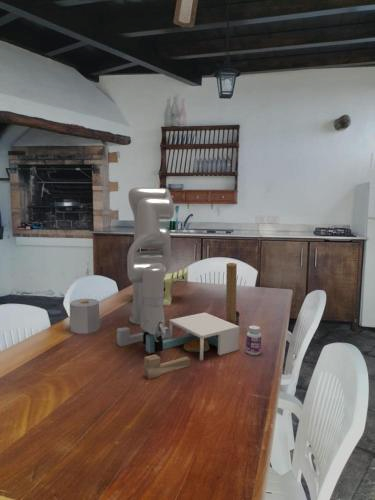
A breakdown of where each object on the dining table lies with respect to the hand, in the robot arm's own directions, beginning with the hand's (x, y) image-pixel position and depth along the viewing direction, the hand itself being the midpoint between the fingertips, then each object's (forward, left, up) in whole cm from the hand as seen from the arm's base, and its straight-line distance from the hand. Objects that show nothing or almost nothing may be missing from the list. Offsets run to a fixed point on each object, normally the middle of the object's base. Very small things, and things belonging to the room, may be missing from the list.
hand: (152, 347), depth 139 cm
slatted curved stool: (-57, +38, -2) cm, 68 cm away
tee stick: (-12, +2, -1) cm, 12 cm away
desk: (+6, +18, -1) cm, 19 cm away
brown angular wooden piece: (+16, -4, -1) cm, 17 cm away
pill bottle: (+21, +30, -2) cm, 37 cm away
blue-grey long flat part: (+5, +11, -1) cm, 12 cm away
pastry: (+7, +15, -2) cm, 17 cm away
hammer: (-2, +40, -2) cm, 40 cm away
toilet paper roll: (-36, -12, -2) cm, 38 cm away
